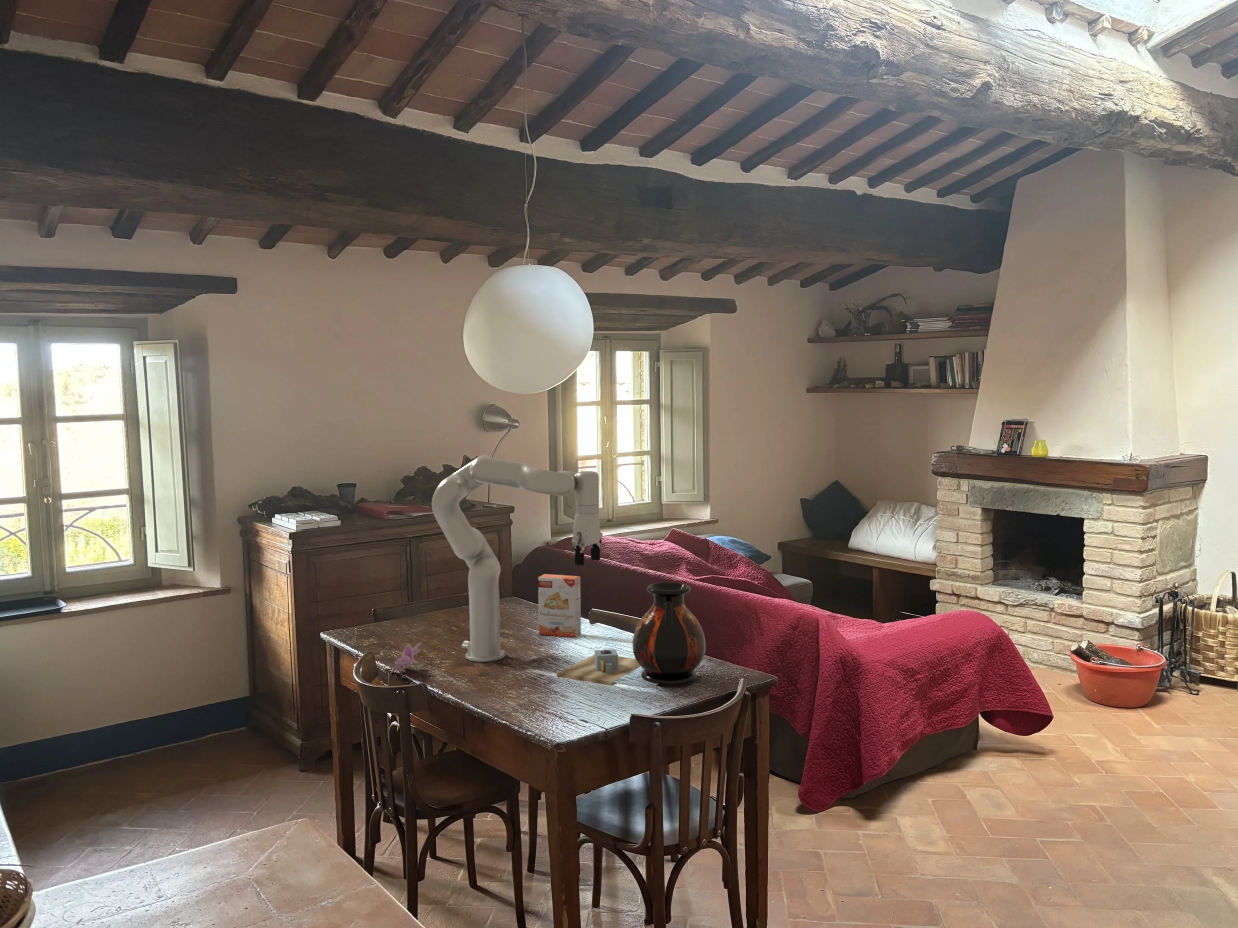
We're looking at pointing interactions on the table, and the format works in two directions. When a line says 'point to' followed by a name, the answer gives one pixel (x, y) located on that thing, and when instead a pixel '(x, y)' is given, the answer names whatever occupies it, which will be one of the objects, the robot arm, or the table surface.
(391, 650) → the table surface
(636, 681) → the table surface
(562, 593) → the cracker box
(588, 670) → the post base
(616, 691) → the table surface
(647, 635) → the black orange vase
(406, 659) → the lily
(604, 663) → the cylinder
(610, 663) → the grey square hole block
